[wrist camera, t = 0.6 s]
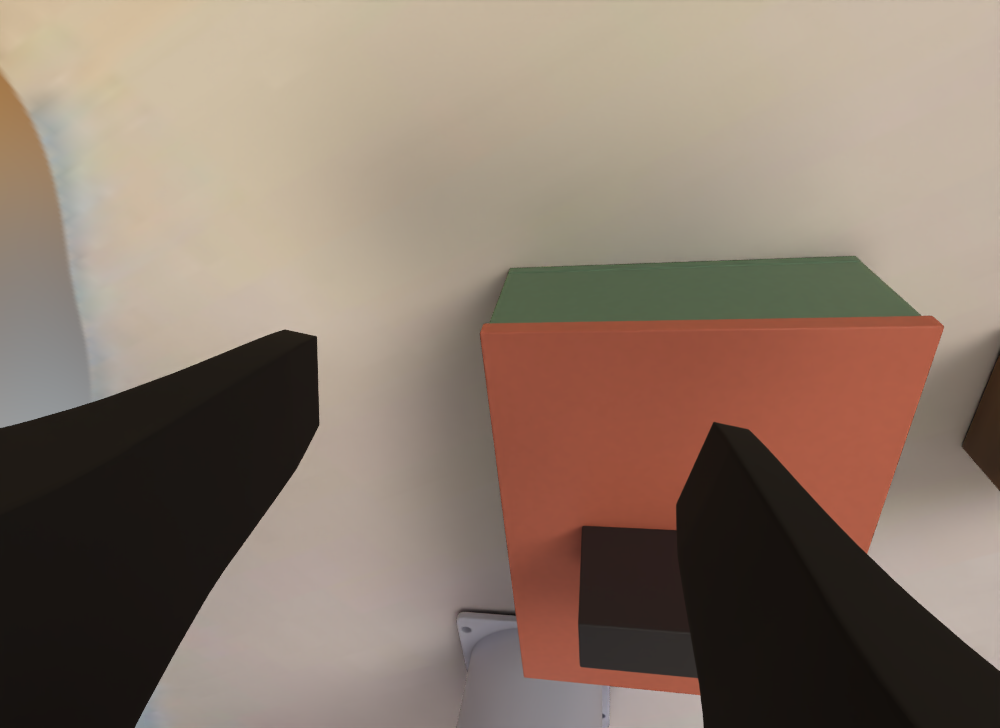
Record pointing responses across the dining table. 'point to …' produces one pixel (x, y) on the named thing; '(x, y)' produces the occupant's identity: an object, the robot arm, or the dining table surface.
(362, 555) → the dining table surface
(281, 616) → the dining table surface
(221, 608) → the dining table surface
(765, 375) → the lunchbox lid
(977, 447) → the walnut block
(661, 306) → the box
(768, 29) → the dining table surface
